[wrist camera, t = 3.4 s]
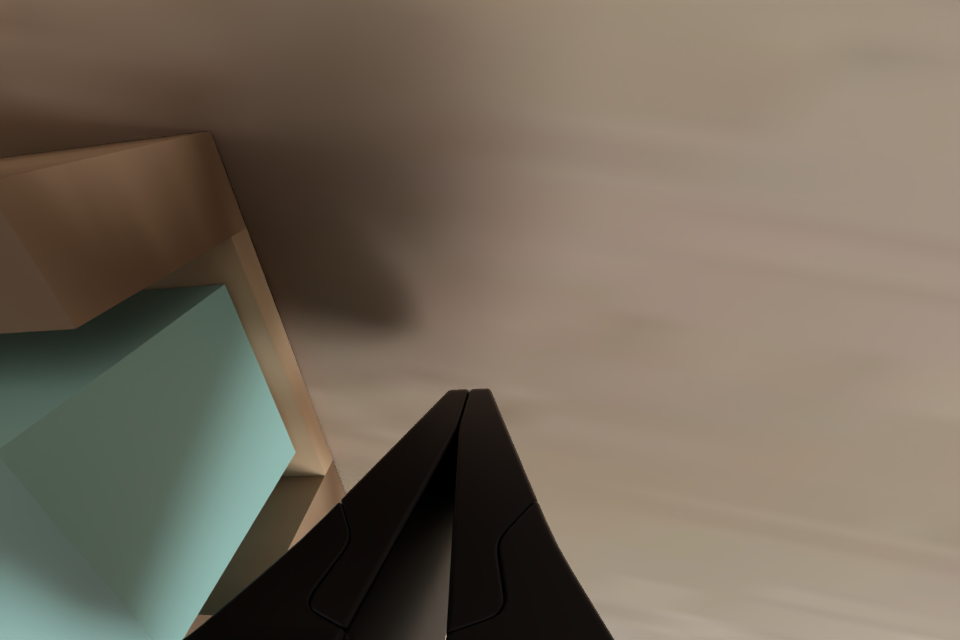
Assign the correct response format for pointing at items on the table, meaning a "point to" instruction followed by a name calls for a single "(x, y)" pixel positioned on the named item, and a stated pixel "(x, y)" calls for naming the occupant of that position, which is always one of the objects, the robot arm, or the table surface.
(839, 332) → the table surface
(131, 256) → the chute
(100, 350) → the teal block
